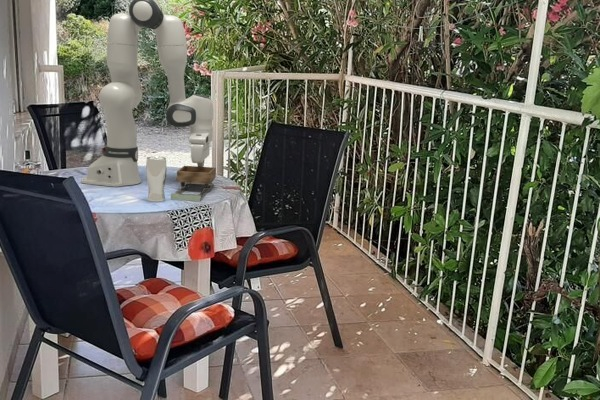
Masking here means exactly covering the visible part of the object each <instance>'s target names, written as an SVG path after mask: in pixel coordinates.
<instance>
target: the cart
mask: <svg viewBox="0 0 600 400" xmlns="http://www.w3.org/2000/svg"><path fill="white" fill-rule="evenodd" d="M216 171H217V167H215V166H214V167H212V166H211V167H210V166H204V167H198V165H197V166H196V165H183V166H182V167H181V168H179V169H178V170H177V171H176V182H177V183H180V188H181V187H184V186H185V183H186V182H187V183H203V184H205V185H204V186H203V187H204V188H208V184H211V183H213V182H214V180H215V179H216V178H217V177H216V175H217V172H216Z"/></svg>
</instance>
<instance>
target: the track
mask: <svg viewBox="0 0 600 400" xmlns="http://www.w3.org/2000/svg"><path fill="white" fill-rule="evenodd" d="M204 185H205V184H203V183H187V182H185V186H184V187H181V186H180V187H179V188H178V189H177V190H176V191H175V192H171V193H170V200H174V201H186V202H187V201H189V202H190V201H191V202H201V201H202V200H203V198H205V196H206V195H207V194H208V192H209V191H210V190H211V189H212V188H213V186H214V182H212V183H211V184H208V188H205V187H204ZM190 186H202V187H204V188H203V190H202V191H200V193H198V194H193V193H184V191H185V190H187V189H188V188H189V187H190Z"/></svg>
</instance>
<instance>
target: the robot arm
mask: <svg viewBox="0 0 600 400" xmlns="http://www.w3.org/2000/svg"><path fill="white" fill-rule="evenodd" d="M145 29H150V30H152V31H153V32H154V34H155V39H156V47H157V55H158V58H159V62H160V66H161V67H162V69H163V71H164V73H165V74H166V78H167V83H168V85H167V86H168V92H169V93H168V94H169V103H168V105H167V108H166V113H165V118H166V121H167V122H168V123H169V125H171V126H172V127H174V128H183V127H189V138H188V142H189V144H190V157H191V158H190V159H191V162H192V163H193V164H197V166H198V167H205V166H204V165H205V160H206V159H207V158H208V157H209V156H210V151H211V150H210V142H213V134H214V132H213V131H214V129H213V128H214V127H213V119H214V105H213V101H212V99H211V97H210V96H207V95H203V94H198V93H194V94H192V95H191V96H189V97H186V87H185V70H186V66H187V63H188V62H187V60H188V45H187V36H186V31H185V28H184V25H183V20H181V18H180V17H178V16H176V15H173V14H172V15H171V14H164V12H163V10H162V7H161V5H160V4H159V3H158V1H157V0H131V2H130V4H129V6H128V11H127V12H125V13H123V12H119V13H116V14H113V15H112V16H111V17H110V19H109V24H108V30H107V38H106V40H107V42H106V65H107V67H108V70H109V75H110V81H111V82H110V83H107V84H106V85H104V86H103V87H102V88H101V89H100V92H98V93H99V94H98V101H99V104H100V105H101V107H102V111H103V115H104V119H105V125H106V143H107V144H106V145H105V146H103V148H101V149H100V150H101V151H100V152H101V153H102V155H101V156H100V157H98V158H97V159H96V160H95V161H93V162H92V163H91V164H89V165H88V168H87V171H86V172H87V173H86V176H84V177H82V178H81V180H80V183H81V184H86V185H87V184H88V185H94V186H95V185H97V186H105V187H114V188H116V187H122V186H133V185H137V184H141V183H142V180H141V177H140V171H139V166H138V161H139V149H138V147H139V146H138V145H137V144H138V143H137V141H138V139H137V138H138V136H137V135H138V133H137V130H138V129H137V124H136V122H135V118H134V114H133V109H135V108H136V107H137V106H138V105H139V104H140V103H141V101H142V99H143V92H142V89H141V85H140V83H141V82H140V77H139V70H138V54H139V53H138V51H139V49H138V47H139V46H138V45H139V33H140V31H141V30H145Z"/></svg>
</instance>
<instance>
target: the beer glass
mask: <svg viewBox="0 0 600 400" xmlns="http://www.w3.org/2000/svg"><path fill="white" fill-rule="evenodd" d="M145 162H146V164H145V172H146V173H145V174H146V182H147V185H148V194H147V197H146V198H147V201H149V202H153V203H156V202H157V203H159V202H160V203H161V202H164V201H165V200H166V196H165V185H166V180H167V158H166V156H165V157H164V156H154V155H153V156H148V157H146V161H145Z"/></svg>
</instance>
